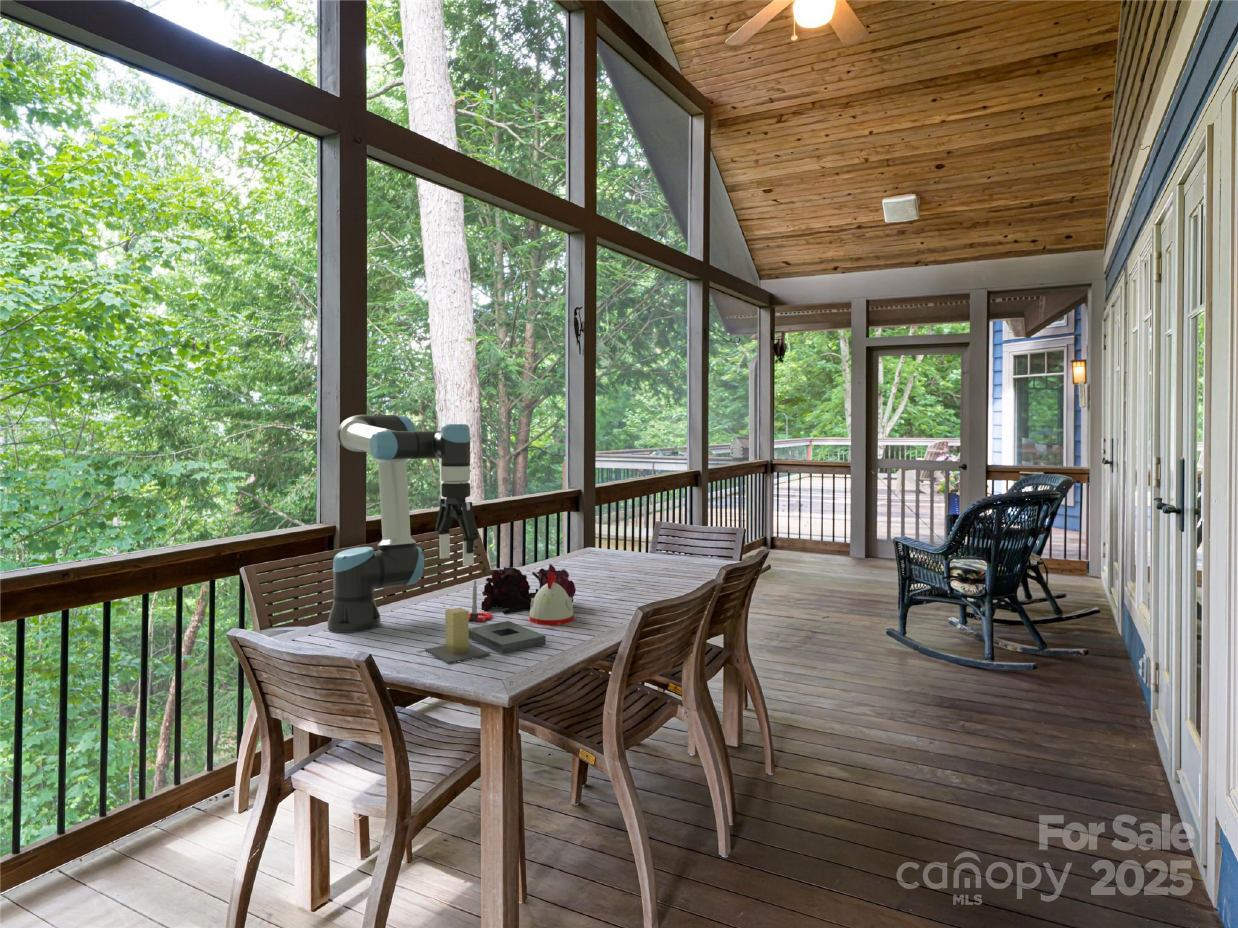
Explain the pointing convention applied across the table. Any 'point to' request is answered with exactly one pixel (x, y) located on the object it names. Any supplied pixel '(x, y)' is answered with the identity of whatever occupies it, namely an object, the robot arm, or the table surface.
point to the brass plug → (457, 630)
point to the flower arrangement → (519, 588)
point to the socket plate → (506, 637)
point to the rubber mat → (450, 658)
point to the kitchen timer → (551, 604)
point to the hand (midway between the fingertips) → (456, 561)
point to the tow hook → (474, 614)
